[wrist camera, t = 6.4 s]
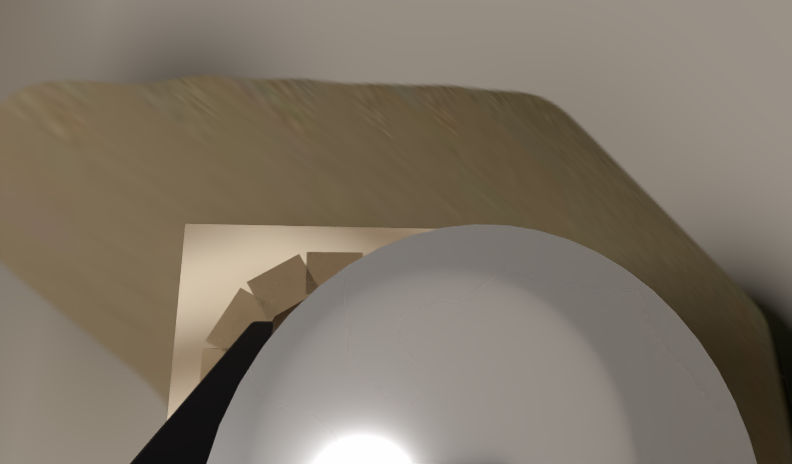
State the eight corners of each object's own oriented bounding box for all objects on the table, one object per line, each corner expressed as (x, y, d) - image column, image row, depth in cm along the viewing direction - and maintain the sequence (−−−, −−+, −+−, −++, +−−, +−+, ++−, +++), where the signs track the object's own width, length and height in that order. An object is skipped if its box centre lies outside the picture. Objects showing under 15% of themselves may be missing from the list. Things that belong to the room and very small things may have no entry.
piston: (448, 409, 15) (878, 629, 4) (325, 484, 14) (373, 1189, 2) (389, 287, 16) (590, 145, 4) (265, 348, 14) (75, 380, 3)
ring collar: (440, 481, 20) (462, 505, 17) (207, 502, 18) (187, 532, 15) (431, 264, 22) (448, 253, 20) (224, 263, 21) (209, 250, 18)
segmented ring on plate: (476, 516, 21) (482, 523, 20) (161, 549, 18) (154, 559, 17) (459, 232, 24) (463, 229, 23) (190, 227, 21) (185, 223, 21)
